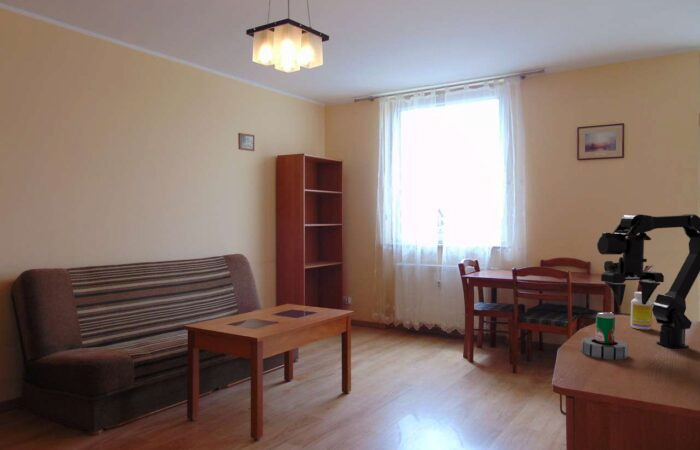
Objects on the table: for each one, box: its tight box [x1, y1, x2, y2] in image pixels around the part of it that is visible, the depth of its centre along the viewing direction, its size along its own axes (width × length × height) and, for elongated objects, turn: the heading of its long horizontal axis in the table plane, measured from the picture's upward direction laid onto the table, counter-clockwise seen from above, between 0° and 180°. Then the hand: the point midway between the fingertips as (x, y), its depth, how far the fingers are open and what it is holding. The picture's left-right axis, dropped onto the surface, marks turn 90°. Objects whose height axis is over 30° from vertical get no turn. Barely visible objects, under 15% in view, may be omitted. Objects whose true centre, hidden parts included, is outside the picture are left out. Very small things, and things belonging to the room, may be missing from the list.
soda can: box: [595, 311, 616, 345], centre depth 153 cm, size 5×5×12 cm
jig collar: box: [580, 336, 629, 361], centre depth 153 cm, size 12×12×4 cm
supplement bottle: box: [630, 291, 653, 331], centre depth 188 cm, size 7×7×13 cm
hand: (631, 304), depth 162 cm, fingers open, 9 cm apart
